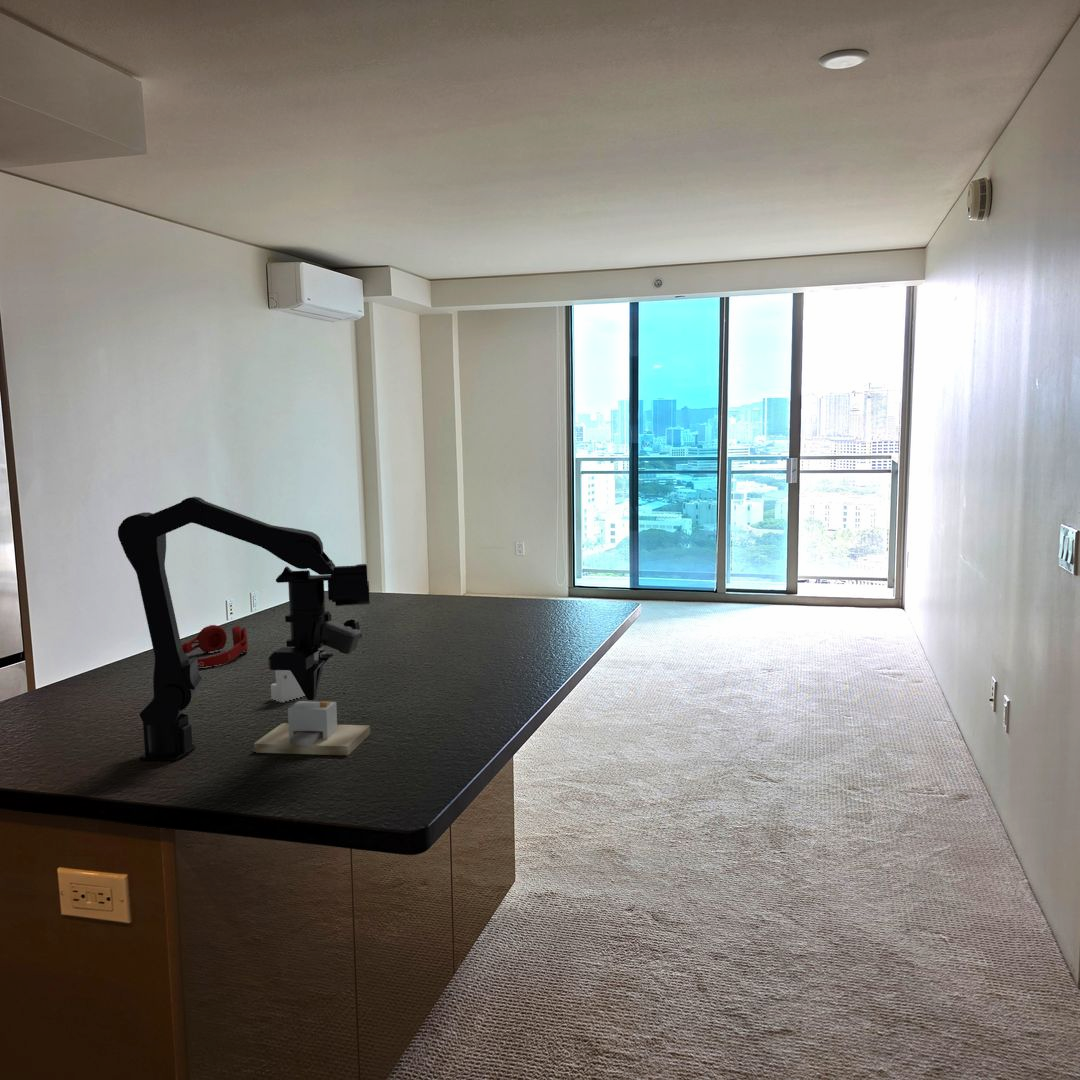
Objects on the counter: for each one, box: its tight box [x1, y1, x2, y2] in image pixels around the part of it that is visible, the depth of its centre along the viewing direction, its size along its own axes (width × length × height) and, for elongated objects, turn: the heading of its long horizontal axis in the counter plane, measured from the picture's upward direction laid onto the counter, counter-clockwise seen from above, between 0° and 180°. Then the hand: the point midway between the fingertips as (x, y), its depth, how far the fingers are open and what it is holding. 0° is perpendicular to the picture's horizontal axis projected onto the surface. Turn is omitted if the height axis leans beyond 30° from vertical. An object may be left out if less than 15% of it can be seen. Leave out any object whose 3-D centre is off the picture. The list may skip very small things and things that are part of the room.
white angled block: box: [270, 670, 305, 703], centre depth 181 cm, size 4×10×9 cm, turn 141°
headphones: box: [181, 624, 249, 667], centre depth 216 cm, size 15×7×20 cm
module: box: [287, 700, 338, 739], centre depth 152 cm, size 7×4×6 cm
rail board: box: [253, 722, 371, 756], centre depth 152 cm, size 16×11×2 cm
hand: (311, 699), depth 151 cm, fingers closed
